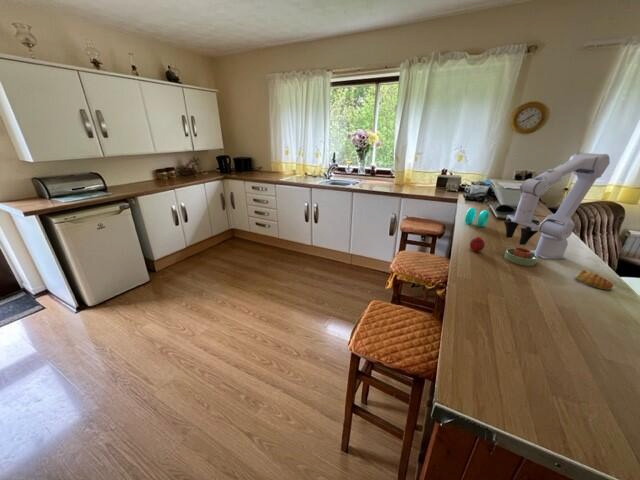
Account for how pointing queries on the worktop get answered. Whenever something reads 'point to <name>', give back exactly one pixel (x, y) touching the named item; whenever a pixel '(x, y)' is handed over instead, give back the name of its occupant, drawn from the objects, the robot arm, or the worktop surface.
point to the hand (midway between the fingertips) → (515, 240)
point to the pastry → (593, 280)
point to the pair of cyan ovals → (481, 218)
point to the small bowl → (522, 253)
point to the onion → (477, 244)
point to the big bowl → (519, 260)
